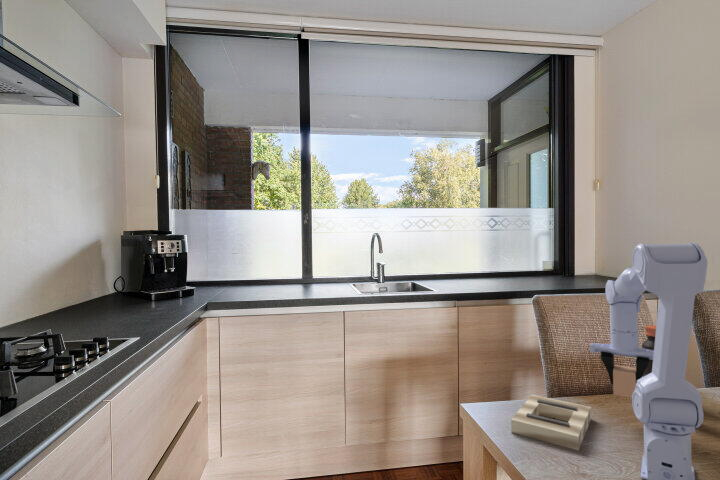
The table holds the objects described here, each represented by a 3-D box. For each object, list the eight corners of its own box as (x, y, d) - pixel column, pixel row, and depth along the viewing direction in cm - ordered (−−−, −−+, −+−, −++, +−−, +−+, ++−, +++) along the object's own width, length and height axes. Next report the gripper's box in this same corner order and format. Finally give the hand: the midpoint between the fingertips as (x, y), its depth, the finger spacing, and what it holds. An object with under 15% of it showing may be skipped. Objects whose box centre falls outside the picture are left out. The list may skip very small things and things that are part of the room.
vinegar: (674, 407, 104) (672, 331, 104) (642, 401, 108) (641, 328, 108) (673, 398, 110) (672, 326, 110) (643, 393, 114) (641, 323, 114)
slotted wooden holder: (578, 450, 85) (578, 434, 85) (511, 432, 93) (511, 417, 93) (591, 418, 99) (591, 404, 99) (532, 405, 107) (531, 392, 107)
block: (636, 398, 94) (635, 373, 94) (613, 394, 96) (612, 369, 96) (637, 392, 97) (636, 368, 97) (615, 388, 100) (614, 364, 100)
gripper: (661, 330, 96) (662, 386, 96) (592, 323, 104) (593, 375, 104) (661, 336, 90) (662, 396, 90) (588, 328, 99) (589, 383, 99)
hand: (625, 385), depth 97 cm, fingers closed on block, 4 cm apart
